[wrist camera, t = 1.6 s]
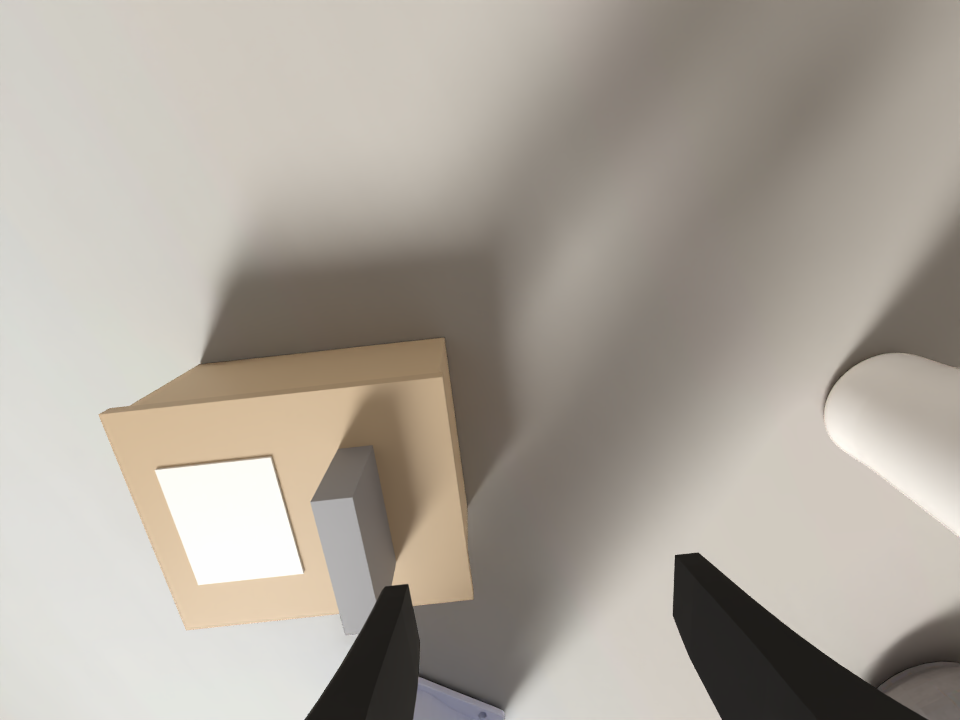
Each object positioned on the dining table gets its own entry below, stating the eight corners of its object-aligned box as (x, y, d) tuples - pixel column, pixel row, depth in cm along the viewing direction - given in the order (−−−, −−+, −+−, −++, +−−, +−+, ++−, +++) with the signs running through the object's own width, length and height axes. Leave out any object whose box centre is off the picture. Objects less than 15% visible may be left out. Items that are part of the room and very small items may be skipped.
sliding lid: (443, 371, 16) (436, 416, 12) (473, 589, 19) (475, 672, 15) (109, 408, 16) (14, 462, 12) (193, 619, 19) (134, 709, 15)
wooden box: (444, 337, 21) (438, 375, 16) (467, 507, 23) (467, 580, 19) (199, 364, 21) (123, 409, 16) (252, 530, 23) (200, 608, 19)
